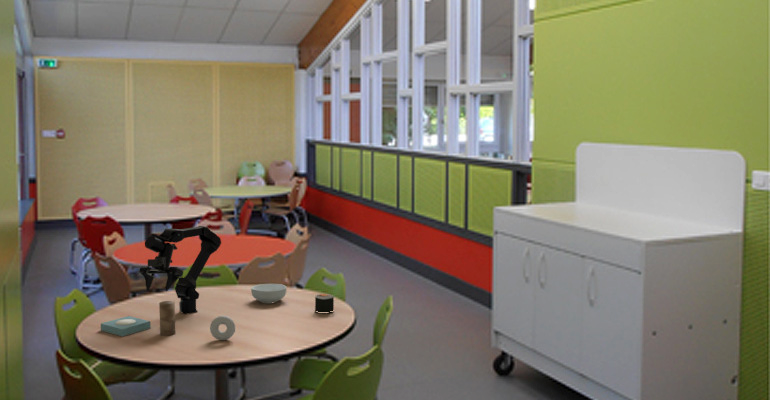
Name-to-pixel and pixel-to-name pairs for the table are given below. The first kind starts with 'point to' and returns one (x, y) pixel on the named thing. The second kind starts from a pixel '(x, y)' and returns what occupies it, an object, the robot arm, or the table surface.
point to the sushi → (324, 302)
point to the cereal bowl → (268, 292)
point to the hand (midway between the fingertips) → (156, 290)
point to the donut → (226, 321)
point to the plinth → (125, 326)
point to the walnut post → (167, 318)
